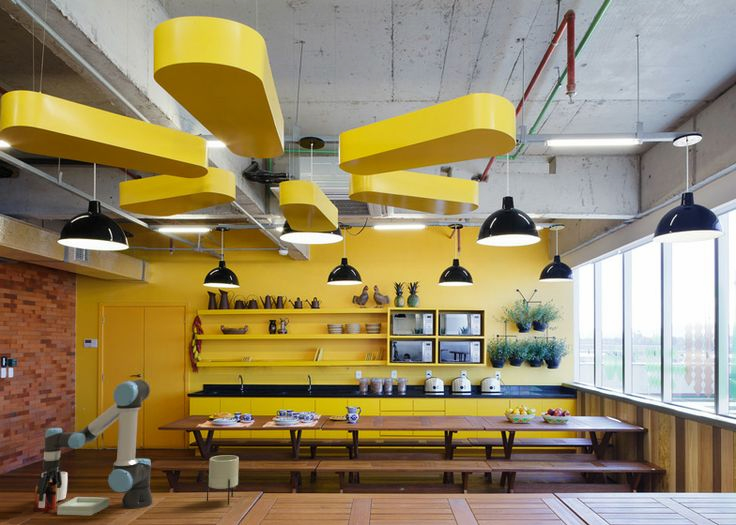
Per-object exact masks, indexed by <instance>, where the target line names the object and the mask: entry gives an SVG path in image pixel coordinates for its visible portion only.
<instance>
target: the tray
mask: <svg viewBox="0 0 736 525" xmlns="http://www.w3.org/2000/svg"><path fill="white" fill-rule="evenodd" d="M108 507H110V497H93V496H92V497H91V496H90V497H89V496H76V497H75V496H74V497H73V498H72V499H69V500H67V501H65V502H63V503H61V504H59V505H57V511H56V515H59V516H61V515H62V516H91V515H92V516H94V515H95V513H96V514H97V512H98V513H100V512H101V511H104V509H106V508H108ZM93 514H94V515H93Z"/></svg>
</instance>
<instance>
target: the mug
mask: <svg viewBox="0 0 736 525" xmlns="http://www.w3.org/2000/svg"><path fill="white" fill-rule="evenodd" d="M38 484H39V483H37V484H35V488H34V489H35V491H34V501H33V503H34V505H33V511H34V512H36V513H37V512H39V513H40V512H50V511H56V506H57V505H56V503H57V502H56V493H57V483H55V484H53V482H50V481H49V483H48V485H47V488H46V491H45V493H44V494H46V495H45V507H44V508H38V507H39V494H36V492H37V488H38Z"/></svg>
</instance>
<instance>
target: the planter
mask: <svg viewBox="0 0 736 525" xmlns="http://www.w3.org/2000/svg"><path fill="white" fill-rule="evenodd" d="M239 459H240V458H239V456H237V455H232V454H229V455H228V454H225V455H223V454H222V455H215V456H211V457H210V458H209V467H208V468H209V469H208V476H207V484H206V487H207V488H206V502H207V501H208V502H209V489H211V488H212V489H217V490H218V489H219V490H223V489H224V490H227V506H228V505H229V506H230V498H231V497H233V498H234V487H236V486H238V485H239V464H240V463H239V462H240V460H239ZM230 491H231V496H230Z"/></svg>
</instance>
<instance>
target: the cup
mask: <svg viewBox="0 0 736 525" xmlns="http://www.w3.org/2000/svg"><path fill="white" fill-rule="evenodd" d="M68 477H69V476H68V471H67V472H66V471H61V480H62V485H61V488H59V491H58V501H63V500H64V499H66V496H67V492H68ZM49 482H52V479H51V480H50V481H49Z"/></svg>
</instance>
